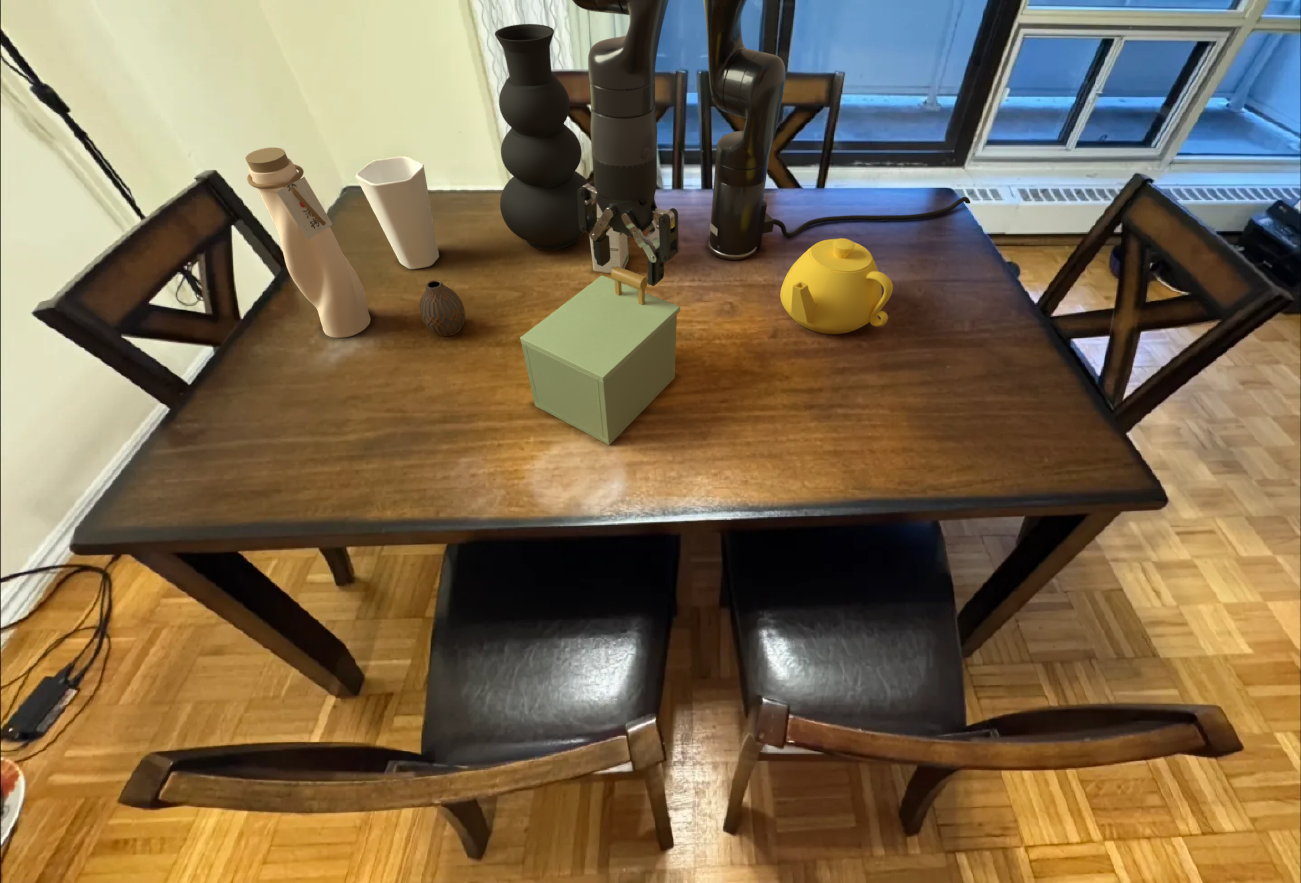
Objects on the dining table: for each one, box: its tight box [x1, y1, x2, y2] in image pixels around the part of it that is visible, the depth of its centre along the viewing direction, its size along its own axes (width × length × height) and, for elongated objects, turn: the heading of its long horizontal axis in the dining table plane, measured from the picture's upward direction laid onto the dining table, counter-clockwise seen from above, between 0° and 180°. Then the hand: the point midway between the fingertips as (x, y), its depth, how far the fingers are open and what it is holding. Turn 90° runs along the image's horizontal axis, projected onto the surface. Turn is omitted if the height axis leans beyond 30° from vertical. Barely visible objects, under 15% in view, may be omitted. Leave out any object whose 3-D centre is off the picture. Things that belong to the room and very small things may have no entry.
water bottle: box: [245, 147, 371, 339], centre depth 89 cm, size 10×9×28 cm
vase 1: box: [419, 279, 466, 337], centre depth 95 cm, size 7×7×9 cm
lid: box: [519, 266, 681, 382], centre depth 78 cm, size 18×14×5 cm
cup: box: [355, 155, 440, 270], centre depth 107 cm, size 11×10×17 cm
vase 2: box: [494, 23, 590, 251], centre depth 105 cm, size 18×18×35 cm
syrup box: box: [589, 204, 630, 274], centre depth 106 cm, size 6×6×14 cm
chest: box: [521, 313, 678, 446], centre depth 84 cm, size 17×14×12 cm
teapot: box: [779, 237, 894, 335], centre depth 96 cm, size 20×19×13 cm
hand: (628, 272), depth 80 cm, fingers open, 8 cm apart
